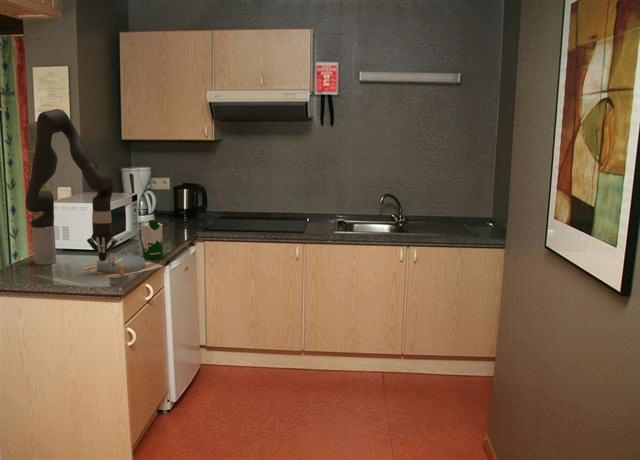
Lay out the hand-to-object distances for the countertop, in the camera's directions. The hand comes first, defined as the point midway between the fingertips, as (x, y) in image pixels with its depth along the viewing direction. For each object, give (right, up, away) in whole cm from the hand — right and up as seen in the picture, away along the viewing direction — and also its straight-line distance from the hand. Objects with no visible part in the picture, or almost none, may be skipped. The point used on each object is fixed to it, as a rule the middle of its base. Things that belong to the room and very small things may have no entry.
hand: (102, 260), depth 232 cm
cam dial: (+5, -3, +9) cm, 11 cm away
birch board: (+5, -5, +11) cm, 13 cm away
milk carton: (+13, -2, +28) cm, 31 cm away
